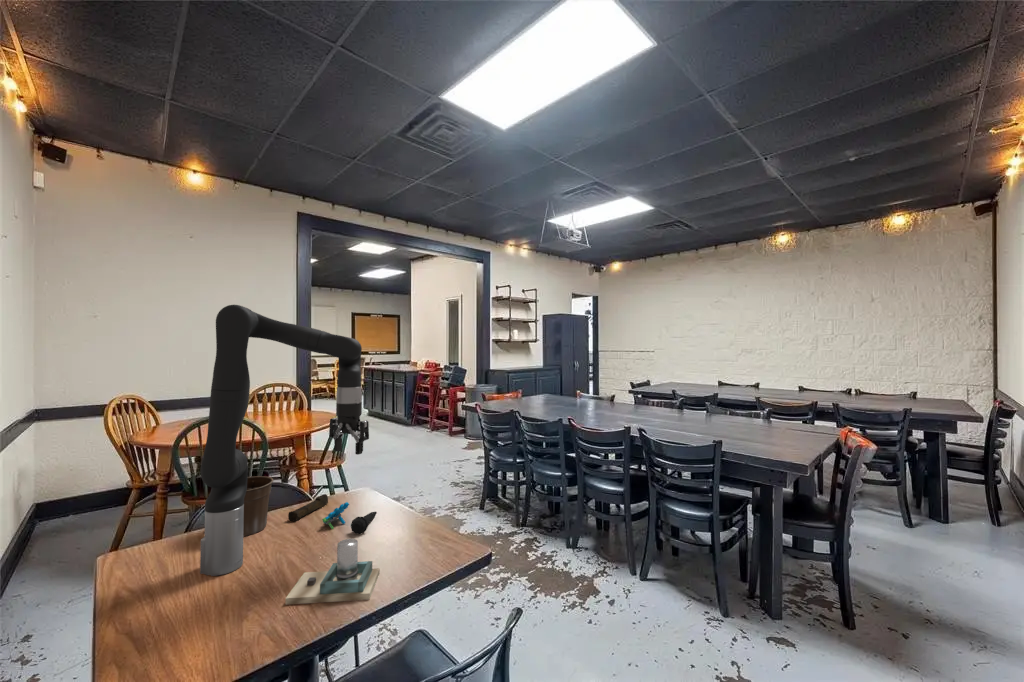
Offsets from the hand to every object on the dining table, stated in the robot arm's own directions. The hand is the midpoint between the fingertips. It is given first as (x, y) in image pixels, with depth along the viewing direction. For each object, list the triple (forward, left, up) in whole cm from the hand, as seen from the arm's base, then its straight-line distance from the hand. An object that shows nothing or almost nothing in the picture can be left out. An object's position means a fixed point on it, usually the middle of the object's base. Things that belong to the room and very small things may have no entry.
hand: (348, 452), depth 131 cm
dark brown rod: (-23, +33, -30) cm, 50 cm away
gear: (-10, +20, -30) cm, 38 cm away
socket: (+6, -22, -29) cm, 36 cm away
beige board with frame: (+3, -22, -30) cm, 37 cm away
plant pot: (-39, +18, -30) cm, 53 cm away
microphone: (+2, +18, -30) cm, 36 cm away
